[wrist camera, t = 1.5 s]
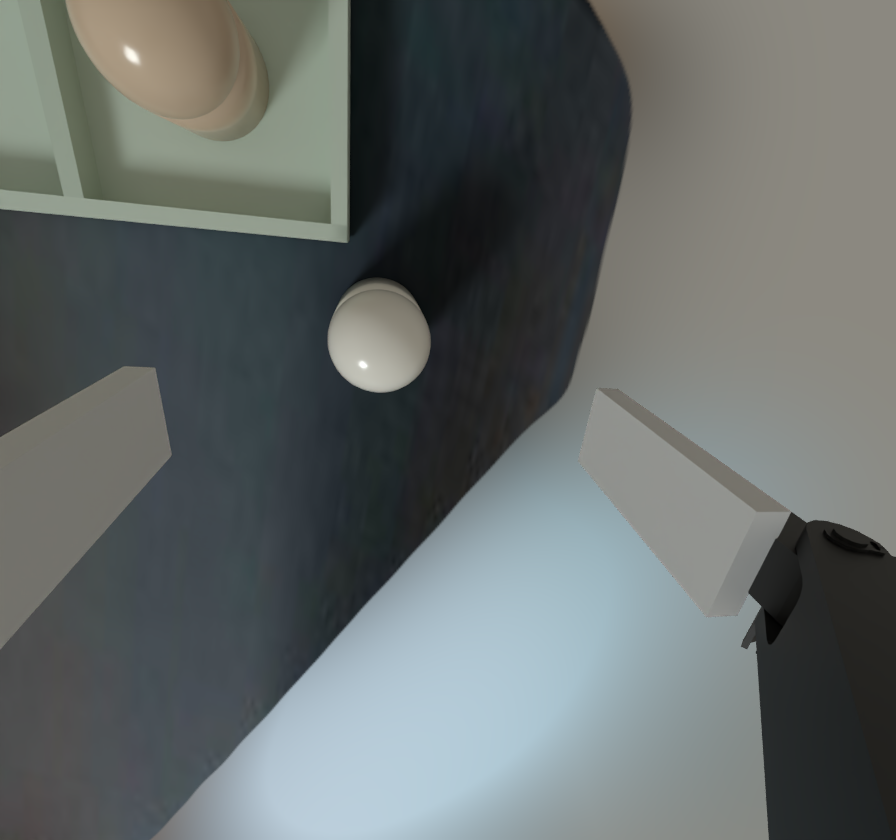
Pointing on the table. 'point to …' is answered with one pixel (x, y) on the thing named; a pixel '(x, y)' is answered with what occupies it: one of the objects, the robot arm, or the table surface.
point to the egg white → (378, 336)
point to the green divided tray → (179, 131)
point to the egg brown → (178, 61)
